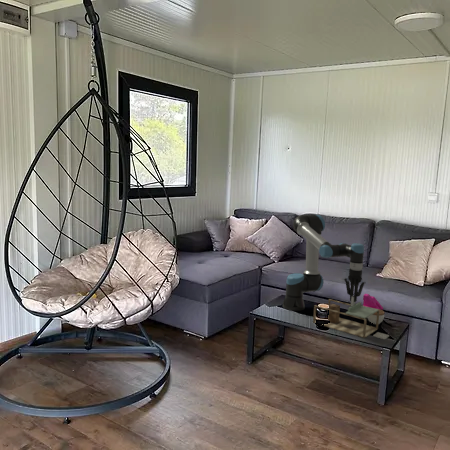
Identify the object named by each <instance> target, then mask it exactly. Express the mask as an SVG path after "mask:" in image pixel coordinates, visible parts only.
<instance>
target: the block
mask: <svg viewBox="0 0 450 450" xmlns="http://www.w3.org/2000/svg"><path fill="white" fill-rule="evenodd" d="M329 309H331V310H335V311H339V312H341V311H340V310H341V305H339V304H335V303H331V304H330V305H329ZM339 318H340V313H336V312H333V311H329V315H328V320H329V321H330V322H332V323H337V322H339Z"/></svg>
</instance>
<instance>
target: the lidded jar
mask: <svg viewBox="0 0 450 450" xmlns="http://www.w3.org/2000/svg"><path fill="white" fill-rule="evenodd" d="M374 309H377V308H374ZM378 311H379V322H378V325H380V324H381V323H382V322H383V321H384V318H385V310H384V309H382V310H381V309H378ZM366 319H367V321H368V322H369V323H370V322H371V323H370V324H372V323H373V325H376V320H377V312H375V313H374V314H372V315H370V316H369V317H367V318H366Z"/></svg>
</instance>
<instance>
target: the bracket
mask: <svg viewBox="0 0 450 450" xmlns="http://www.w3.org/2000/svg"><path fill="white" fill-rule="evenodd" d="M362 296H363V297H362V301H363V304H362V306H366V307H370V308H377V309H380V310H384V307H383V306H382V305H381V303H380V302H379V301H378V299H377V298H376V297H375V296H372V295H370V293H364V294H363V295H362Z"/></svg>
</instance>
